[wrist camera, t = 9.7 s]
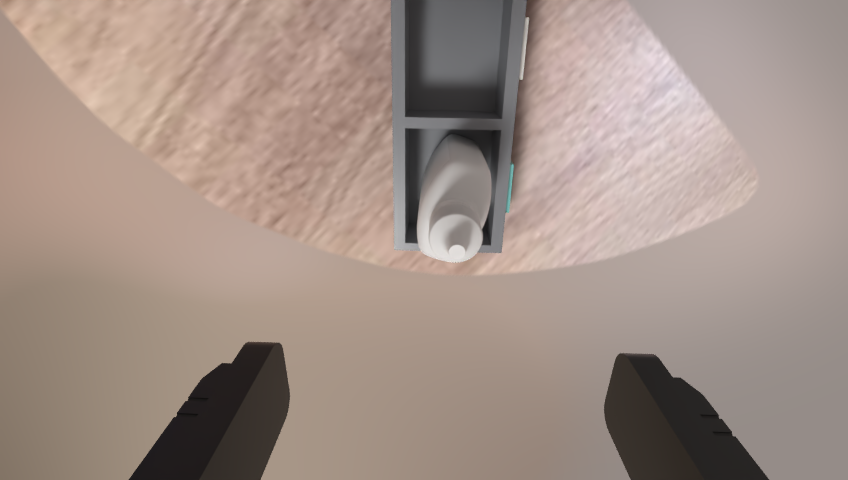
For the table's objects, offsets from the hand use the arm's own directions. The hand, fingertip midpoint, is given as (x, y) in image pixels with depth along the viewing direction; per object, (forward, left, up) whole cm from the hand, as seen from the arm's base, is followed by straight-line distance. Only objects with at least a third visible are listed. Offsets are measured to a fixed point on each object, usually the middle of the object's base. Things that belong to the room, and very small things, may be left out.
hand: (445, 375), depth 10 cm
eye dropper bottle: (0, +1, -20) cm, 20 cm away
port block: (-4, +1, -21) cm, 21 cm away
